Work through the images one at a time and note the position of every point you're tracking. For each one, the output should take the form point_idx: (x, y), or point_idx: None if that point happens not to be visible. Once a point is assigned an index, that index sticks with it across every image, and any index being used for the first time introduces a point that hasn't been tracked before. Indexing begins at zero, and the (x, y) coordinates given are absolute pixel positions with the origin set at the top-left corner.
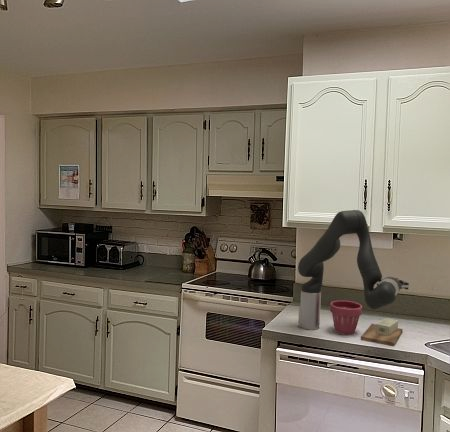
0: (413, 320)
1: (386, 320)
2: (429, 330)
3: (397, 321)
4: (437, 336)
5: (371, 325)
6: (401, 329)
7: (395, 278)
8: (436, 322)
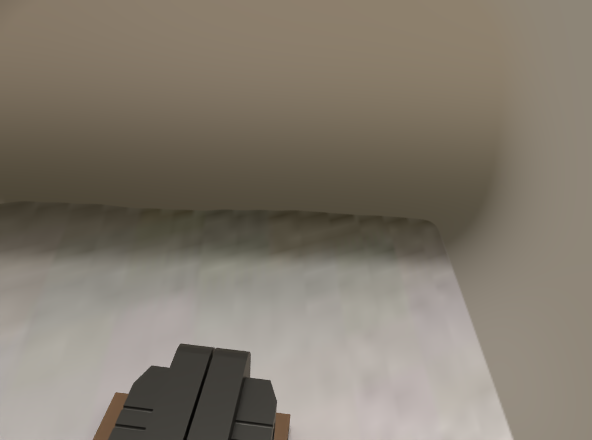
0: (326, 260)
1: None
2: (411, 350)
3: None
4: (467, 420)
5: (107, 424)
6: (284, 425)
7: (192, 407)
8: (414, 254)
